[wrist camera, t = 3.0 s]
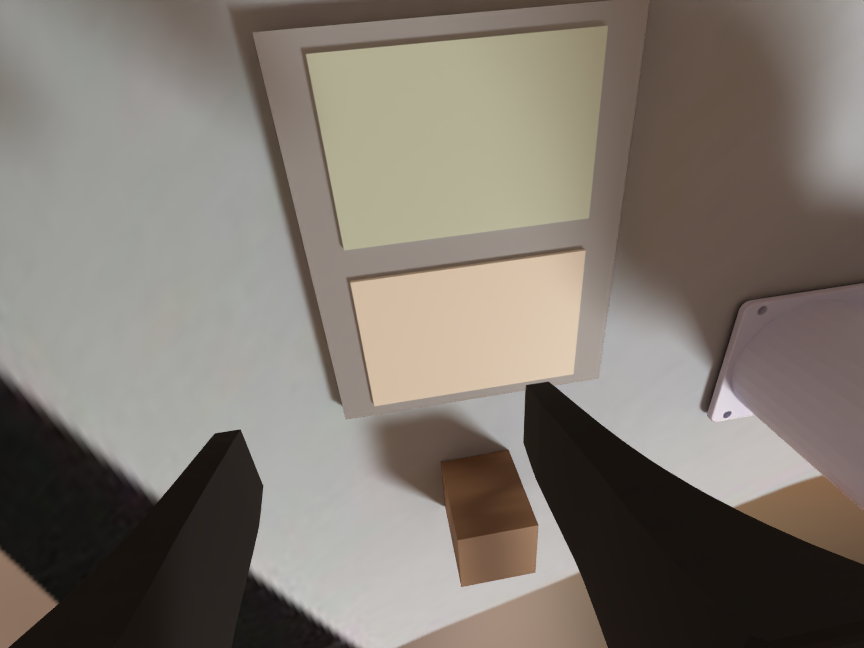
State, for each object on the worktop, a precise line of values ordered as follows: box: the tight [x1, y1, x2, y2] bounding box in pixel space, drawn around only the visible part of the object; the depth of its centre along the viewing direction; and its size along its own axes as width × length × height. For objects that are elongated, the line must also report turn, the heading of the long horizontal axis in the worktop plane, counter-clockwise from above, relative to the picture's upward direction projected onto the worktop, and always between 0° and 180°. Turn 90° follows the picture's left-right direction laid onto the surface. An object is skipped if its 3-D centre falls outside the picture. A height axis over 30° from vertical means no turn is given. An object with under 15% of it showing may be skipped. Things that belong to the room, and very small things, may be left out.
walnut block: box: [441, 450, 538, 587], centre depth 25 cm, size 4×4×5 cm
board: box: [252, 0, 650, 419], centre depth 19 cm, size 13×16×1 cm
